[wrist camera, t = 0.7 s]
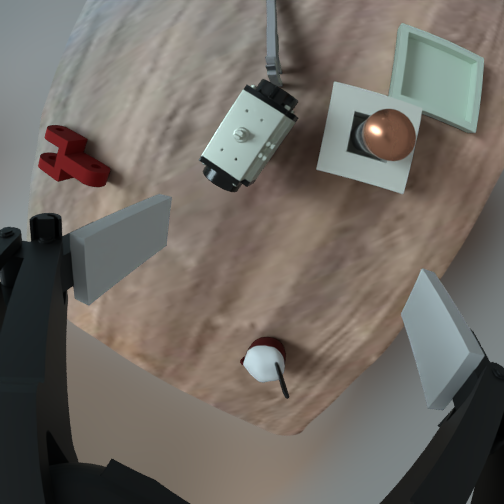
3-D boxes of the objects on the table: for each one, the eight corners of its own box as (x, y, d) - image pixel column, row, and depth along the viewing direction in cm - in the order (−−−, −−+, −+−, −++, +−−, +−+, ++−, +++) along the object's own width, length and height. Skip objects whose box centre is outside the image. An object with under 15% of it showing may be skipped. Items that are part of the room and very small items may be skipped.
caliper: (283, 87, 34) (275, 77, 29) (275, 87, 35) (265, 77, 29) (274, -35, 27) (265, -57, 22) (266, -34, 28) (256, -56, 22)
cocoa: (246, 356, 50) (222, 407, 40) (243, 327, 48) (217, 378, 37) (301, 363, 48) (287, 419, 37) (303, 334, 45) (289, 390, 35)
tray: (397, 29, 27) (401, 23, 25) (476, 62, 26) (483, 58, 23) (387, 101, 32) (391, 99, 29) (467, 132, 30) (475, 132, 28)
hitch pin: (352, 118, 33) (370, 102, 19) (383, 127, 32) (420, 118, 18) (346, 148, 34) (360, 152, 20) (377, 157, 34) (409, 167, 20)
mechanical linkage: (52, 159, 46) (33, 163, 41) (62, 124, 43) (42, 126, 38) (107, 196, 46) (88, 203, 41) (120, 157, 43) (100, 160, 38)
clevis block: (332, 90, 33) (334, 81, 27) (408, 112, 31) (422, 108, 26) (317, 165, 37) (316, 169, 31) (391, 186, 35) (403, 194, 30)
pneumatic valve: (225, 163, 39) (186, 173, 28) (273, 90, 34) (252, 69, 24) (259, 187, 39) (232, 205, 28) (310, 114, 35) (304, 101, 24)
